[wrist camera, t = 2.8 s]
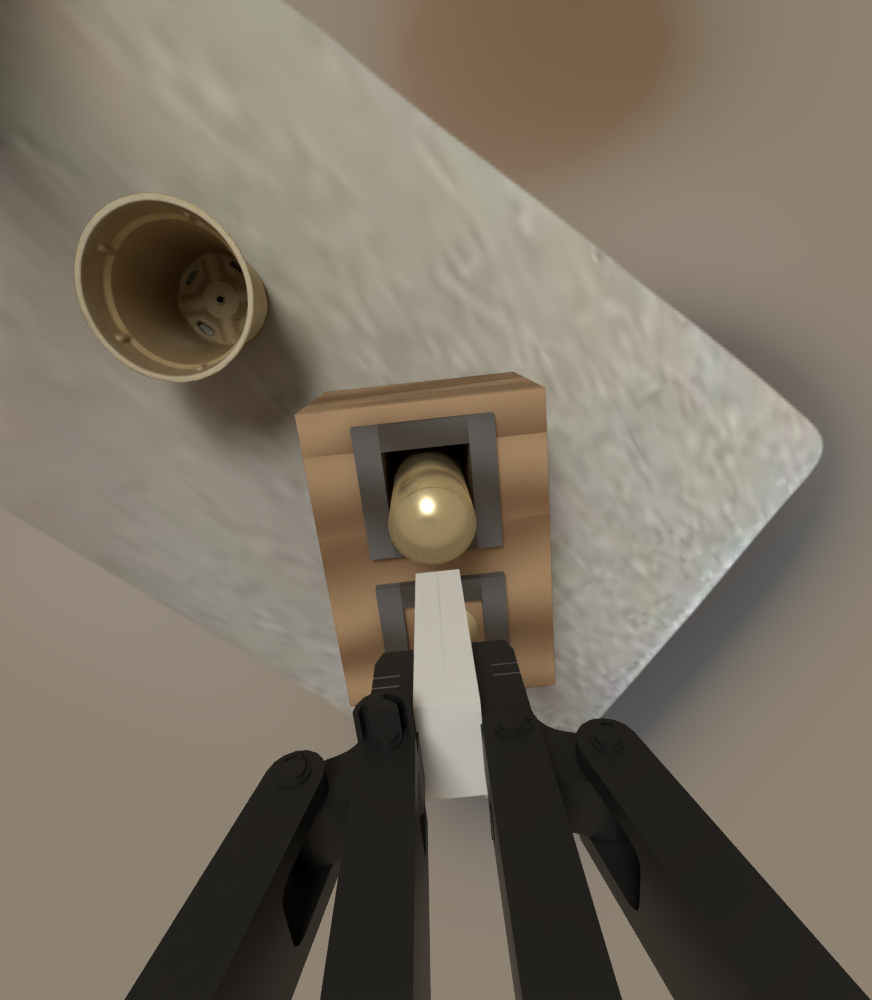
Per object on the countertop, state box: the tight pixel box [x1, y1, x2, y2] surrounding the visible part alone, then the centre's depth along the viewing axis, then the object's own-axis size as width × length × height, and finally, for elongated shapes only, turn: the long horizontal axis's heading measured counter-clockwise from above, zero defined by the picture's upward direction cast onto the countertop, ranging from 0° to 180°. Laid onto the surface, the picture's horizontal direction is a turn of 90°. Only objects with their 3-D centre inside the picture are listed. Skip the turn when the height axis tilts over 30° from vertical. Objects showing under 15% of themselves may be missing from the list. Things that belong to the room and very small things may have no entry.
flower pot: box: [74, 193, 268, 382], centre depth 32 cm, size 9×9×9 cm
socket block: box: [295, 372, 555, 707], centre depth 36 cm, size 20×14×11 cm
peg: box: [388, 446, 476, 565], centre depth 28 cm, size 4×4×8 cm
